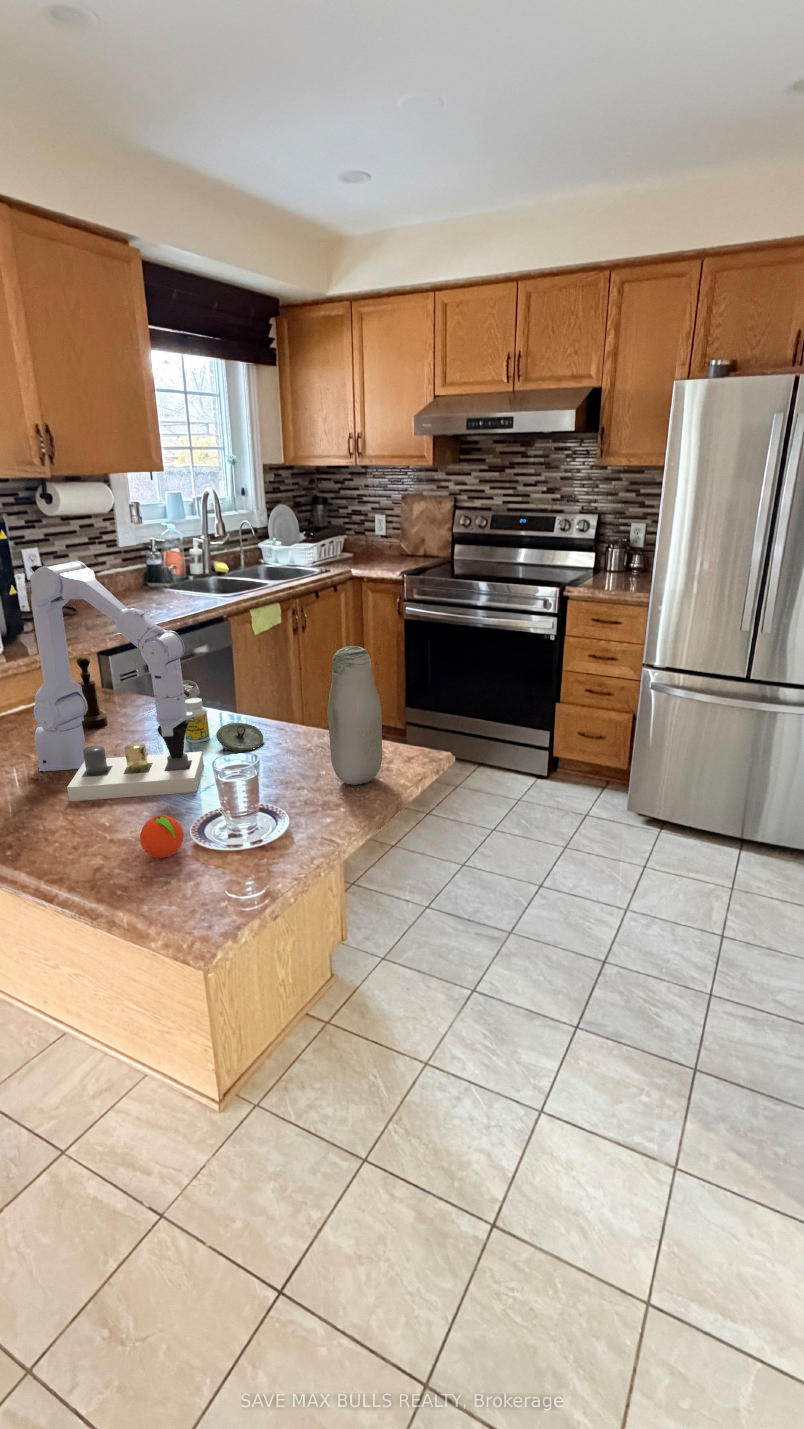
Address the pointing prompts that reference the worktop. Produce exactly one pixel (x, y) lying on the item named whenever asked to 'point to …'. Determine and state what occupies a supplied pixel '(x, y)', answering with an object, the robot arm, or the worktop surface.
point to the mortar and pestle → (90, 697)
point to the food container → (190, 689)
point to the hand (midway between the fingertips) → (177, 757)
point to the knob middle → (136, 758)
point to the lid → (239, 736)
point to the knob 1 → (95, 760)
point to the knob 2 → (178, 763)
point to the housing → (136, 779)
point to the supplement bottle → (197, 721)
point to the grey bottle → (354, 717)
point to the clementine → (161, 836)
